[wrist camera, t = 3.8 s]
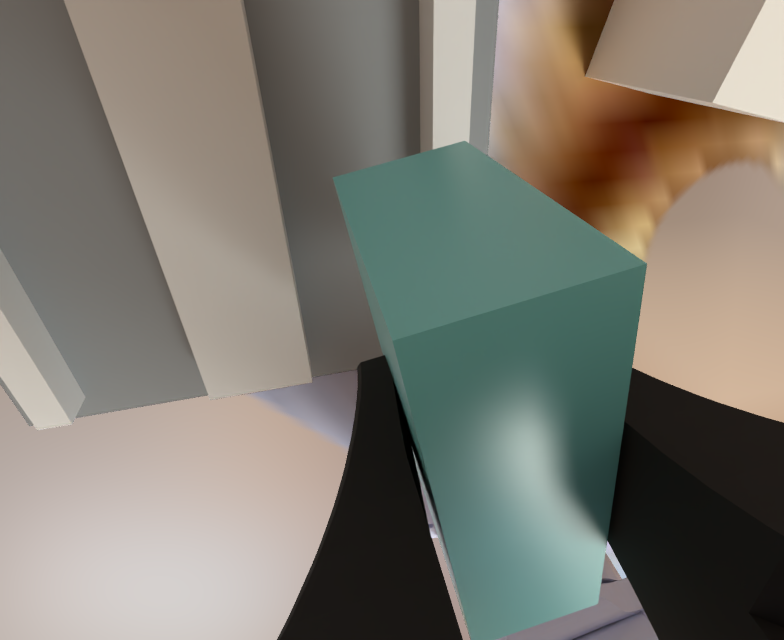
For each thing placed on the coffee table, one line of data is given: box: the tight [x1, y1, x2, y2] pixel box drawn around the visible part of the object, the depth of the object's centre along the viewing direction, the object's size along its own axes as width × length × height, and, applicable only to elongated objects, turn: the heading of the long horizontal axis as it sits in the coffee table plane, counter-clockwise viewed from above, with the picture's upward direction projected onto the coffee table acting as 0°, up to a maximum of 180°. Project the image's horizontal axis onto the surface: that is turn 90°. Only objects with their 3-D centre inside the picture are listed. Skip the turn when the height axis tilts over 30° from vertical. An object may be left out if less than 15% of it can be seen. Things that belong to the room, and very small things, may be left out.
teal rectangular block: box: [333, 141, 647, 640], centre depth 10 cm, size 9×3×6 cm, turn 12°
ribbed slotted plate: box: [0, 0, 499, 430], centre depth 15 cm, size 16×19×2 cm
